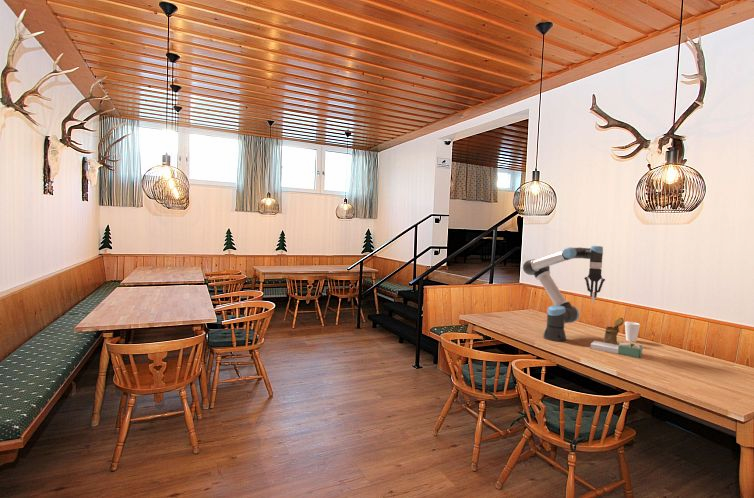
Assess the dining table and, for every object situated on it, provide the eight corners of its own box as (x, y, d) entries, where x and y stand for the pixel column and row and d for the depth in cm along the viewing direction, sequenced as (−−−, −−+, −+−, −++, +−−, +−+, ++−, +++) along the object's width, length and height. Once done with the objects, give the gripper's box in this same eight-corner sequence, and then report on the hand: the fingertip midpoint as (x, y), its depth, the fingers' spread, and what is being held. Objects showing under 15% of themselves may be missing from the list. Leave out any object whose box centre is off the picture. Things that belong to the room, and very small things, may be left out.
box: (617, 353, 262) (618, 345, 262) (620, 349, 272) (621, 341, 272) (639, 358, 255) (640, 349, 255) (642, 354, 264) (642, 345, 264)
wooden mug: (625, 344, 286) (627, 319, 285) (609, 345, 283) (611, 319, 282) (615, 341, 295) (617, 316, 294) (599, 341, 291) (601, 316, 290)
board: (590, 348, 272) (590, 343, 272) (594, 344, 282) (594, 340, 282) (617, 353, 262) (618, 349, 262) (620, 349, 272) (621, 345, 272)
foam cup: (625, 338, 305) (627, 321, 304) (640, 341, 298) (641, 323, 297) (622, 340, 298) (623, 322, 297) (636, 343, 291) (638, 325, 291)
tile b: (635, 345, 259) (639, 349, 258) (636, 343, 264) (640, 347, 262) (627, 350, 261) (631, 354, 260) (629, 348, 266) (632, 352, 265)
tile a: (619, 349, 265) (618, 344, 265) (620, 347, 269) (619, 342, 269) (629, 349, 261) (629, 344, 261) (631, 347, 266) (630, 342, 266)
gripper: (583, 267, 283) (581, 301, 285) (605, 269, 275) (602, 303, 277) (586, 266, 289) (583, 299, 291) (607, 268, 281) (604, 302, 282)
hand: (593, 301), depth 284 cm, fingers closed
